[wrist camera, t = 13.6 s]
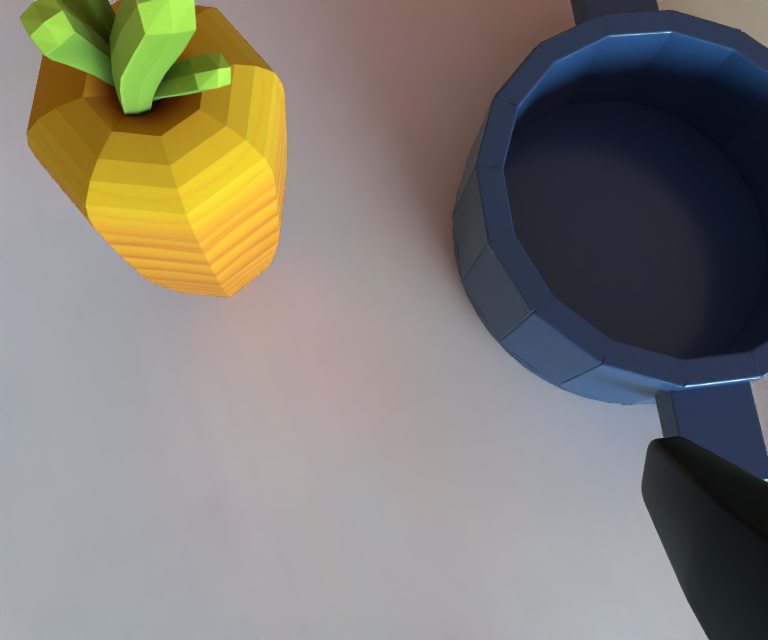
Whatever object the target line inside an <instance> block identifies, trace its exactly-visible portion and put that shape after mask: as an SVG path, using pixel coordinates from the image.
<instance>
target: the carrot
mask: <svg viewBox="0 0 768 640" xmlns="http://www.w3.org/2000/svg"><path fill="white" fill-rule="evenodd" d="M20 19H21V21H22V23H23V25H24V27H25V29H26V31H27V33H28V35H29V37H30V38H31V40H32V41H33V42H34V43H35V44H36V46H37V47H38V48H39V49H40V51H41V52H42V53H43V57H42V61H41V66H40V71H39V76H38V81H37V85H36V90H35V95H34V100H33V105H32V109H31V114H30V119H29V124H28V129H27V140H28V146H29V147H30V149H31V151H32V152H33V154H34V156H35V157H36V158H37V159H38V161H39V162H40V163H41V164H42V165H43V167H44V168H45V169H46V170H47V171H48V173H49V174H50V175H51V176H52V178H53V179H54V180H55V181H56V182H57V184H58V185H59V186H60V187H61V188H62V190H63V191H64V192H65V193H66V194H67V196H68V197H69V198H70V199H71V201H72V202H73V203H74V204H75V205H76V207H77V208H78V209H79V210H80V211H81V213H82V214H83V215H84V216H85V217H86V219H87V220H88V221H89V222H90V224H91V225H92V226H93V227H94V228H95V229H96V230H97V231H98V233H99V234H100V235H101V236H102V237H103V238H104V239H105V240H106V241H107V242H108V243H109V244H110V245H111V246H112V247H113V248H114V249H115V250H116V251H117V253H118V254H119V255H120V256H121V257H122V258H123V259H124V260H126V261H127V262H128V263H129V264H130V265H131V266H132V267H133V268H134V269H135V270H137V271H138V272H139V273H140V274H141V275H142V276H143V277H144V278H145V279H147V280H149V281H152V282H154V283H156V284H158V285H160V286H162V287H164V288H168V289H171V290H174V291H177V292H180V293H188V294H200V295H211V296H222V297H231V296H232V295H234V294H235V293H236V292H237V291H239V290H240V289H241V288H243V287H244V286H245V285H246V284H248V283H249V282H250V281H252V280H253V279H254V278H256V277H257V276H258V275H259V274H261V273H262V272H263V271H265V270H266V269H267V268H268V267H269V265H270V263H271V261H272V259H273V257H274V255H275V252H276V249H277V246H278V243H279V237H280V228H281V219H282V210H283V201H284V192H285V183H286V170H287V129H286V109H285V92H284V88H283V85H282V82H281V80H280V79H279V78H278V76H277V75H276V73H275V72H274V71H273V70H272V69H271V68H270V67H269V65H268V64H267V63H266V62H265V61H264V60H263V59H262V58H261V57H260V56H259V54H258V53H257V52H256V51H255V50H254V49H253V48H252V47H251V46H250V44H249V43H248V42H247V41H246V40H245V39H244V38H243V37H242V36H241V34H240V33H239V32H238V31H237V30H236V29H235V28H234V27H233V26H232V24H231V23H230V22H229V21H228V20H227V19H226V18H225V17H224V16H223V15H222V13H221V12H220V11H219V10H218V9H217V8H213V7H204V6H195V2H194V0H118V1H117V2H115V3H114V4H112V5H110V3H109V1H108V0H37V1H35V2H33V3H32V4H31V5H30V6H29V7H28V9H27V10H26V11H25V12H24V13H23V15H22V16H21V17H20Z"/></svg>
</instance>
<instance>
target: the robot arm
mask: <svg viewBox="0 0 768 640" xmlns="http://www.w3.org/2000/svg"><path fill="white" fill-rule="evenodd" d="M641 487H642V496H643V499H644V502H645V505H646V507H647V509H648V512H649V514H650V516H651V519H652V521H653V523H654V526H655V528H656V530H657V533H658V535H659V537H660V539H661V542H662V544H663V546H664V549H665V551H666V553H667V556H668V558H669V560H670V563H671V565H672V567H673V569H674V572H675V574H676V576H677V579H678V581H679V583H680V586H681V588H682V590H683V592H684V594H685V596H686V598H687V601H688V603H689V604H690V606H691V608H692V610H693V612H694V614H695V616H696V618H697V619H698V621H699V623H700V625H701V626H702V628H703V630H704V632H705V633H706V635H707V637H708V639H709V640H768V482H767V481H765V480H763V479H761V478H759V477H757V476H755V475H754V474H752V473H750V472H748V471H746V470H744V469H742V468H740V467H739V466H737V465H735V464H733V463H731V462H729V461H727V460H725V459H724V458H722V457H720V456H718V455H716V454H714V453H712V452H710V451H709V450H707V449H705V448H703V447H701V446H699V445H697V444H695V443H694V442H692V441H690V440H688V439H686V438H684V437H681V436H673V437H666V438H659V439H655V440H653V441H651V442H650V444H649V445H648V449H647V454H646V460H645V466H644V472H643V478H642V486H641Z"/></svg>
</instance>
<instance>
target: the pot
mask: <svg viewBox="0 0 768 640" xmlns="http://www.w3.org/2000/svg"><path fill="white" fill-rule="evenodd" d="M571 5H572V10H573V14H574V19H575V24H576V26H575V27H573V28H571V29H569V30H566V31H564V32H562V33H560V34H558V35H556V36H554V37H552V38H550V39H548V40H546V41H544V42H541V43H539V44H538V46H536V47H535V48H534V49H533V50H532V52H531V53H530V54H529V55H528V56H527V57H526V59H525V60H524V61H523V62H522V63H521V65H520V66H519V67H518V68H517V69H516V71H515V72H514V73H513V74H512V75H511V77H510V78H509V79H508V80H507V81H506V83H505V84H504V85H503V86H502V87H501V89H500V90H499V91H498V92H497V93H496V94H495V96H494V98H493V99H492V101H491V104H490V106H489V109H488V111H487V113H486V116H485V118H484V120H483V123H482V125H481V127H480V130H479V132H478V135H477V137H476V139H475V142H474V144H473V146H472V149H471V151H470V154H469V156H468V159H467V163H466V166H465V170H464V174H463V178H462V181H461V184H460V187H459V190H458V193H457V199H456V204H455V208H454V212H453V237H454V249H455V256H456V260H457V265H458V269H459V274H460V277H461V279H462V282H463V285H464V287H465V290H466V293H467V295H468V297H469V299H470V301H471V303H472V305H473V307H474V309H475V311H476V313H477V315H478V316H479V318H480V319H481V320H482V322H483V323H484V325H485V326H486V328H487V329H488V330H489V332H490V333H491V335H492V336H493V337H494V338H495V339H496V340H497V341H498V342H499V343H500V345H501V346H502V347H503V348H504V349H505V350H506V351H507V352H508V353H509V354H510V355H511V356H513V357H514V358H515V359H516V360H517V361H518V362H520V363H521V364H522V365H523V366H524V367H526V368H527V369H529V370H530V371H532V372H533V373H535V374H536V375H538V376H539V377H541V378H542V379H544V380H546V381H547V382H549V383H551V384H553V385H555V386H557V387H559V388H561V389H563V390H566V391H569V392H571V393H574V394H577V395H580V396H583V397H586V398H590V399H594V400H599V401H604V402H608V403H619V404H623V405H627V404H628V405H633V404H648V403H656V404H657V409H658V413H659V418H660V423H661V427H662V432H663V437H664V438H666V437H673V436H681V437H684V438H686V439H688V440H690V441H692V442H694V443H695V444H697V445H699V446H701V447H703V448H705V449H707V450H709V451H710V452H712V453H714V454H716V455H718V456H720V457H722V458H724V459H725V460H727V461H729V462H731V463H733V464H735V465H737V466H739V467H740V468H742V469H744V470H746V471H748V472H750V473H752V474H754V475H755V476H757V477H759V478H761V479H763V480H768V455H767V451H766V447H765V443H764V439H763V435H762V431H761V427H760V423H759V419H758V414H757V410H756V406H755V402H754V398H753V394H752V390H751V386H750V381H753V380H757V379H759V378H763V377H765V376H767V375H768V48H766V47H765V46H764V45H762V44H761V43H759V42H758V41H756V40H755V39H753V38H752V37H751V36H749V35H748V34H746V33H745V32H742V31H741V30H739V29H736V28H732V27H729V26H725V25H722V24H719V23H715V22H712V21H708V20H705V19H701V18H698V17H695V16H691V15H688V14H684V13H681V12H677V11H674V10H672V11H670V10H661V11H659V9H658V4H657V0H571Z"/></svg>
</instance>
